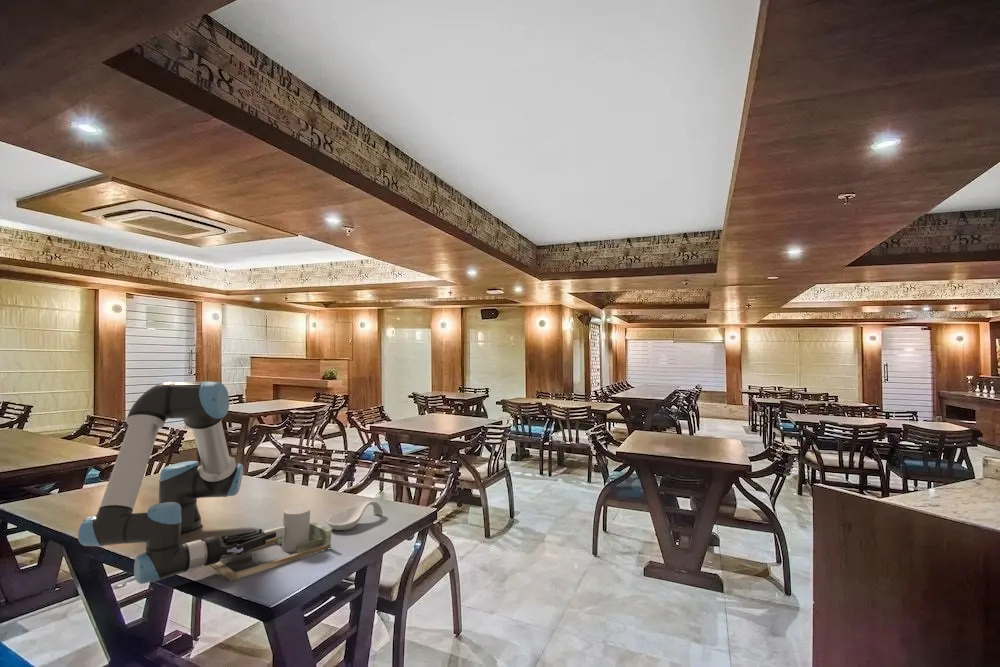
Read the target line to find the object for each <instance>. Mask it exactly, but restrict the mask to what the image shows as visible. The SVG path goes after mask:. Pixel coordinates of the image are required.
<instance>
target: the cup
mask: <svg viewBox="0 0 1000 667" xmlns="http://www.w3.org/2000/svg"><path fill="white" fill-rule="evenodd" d="M282 518H283V519H282V526H284V527H285V536H283V539H282V544H281V545H282V546H281V550H282V551H283V552H285V551H286V552H287V553H296V552H295V551H296V545H299V544H303V543H306V542H309V526H310V521H311V520H310V519H311V508H310V507H309V506H302V505H301V506H293V507H289V508H286V509H284V510H283V516H282Z"/></svg>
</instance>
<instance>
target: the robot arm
mask: <svg viewBox="0 0 1000 667" xmlns="http://www.w3.org/2000/svg"><path fill="white" fill-rule="evenodd" d="M229 398H230V396H229V392H228V389H227V387H226V386H225V385H224V383H222V382H219V381H210V380H206V381H165V382H161V383H158V384H156V385H154V386H152V387H151V388H149V389H148V390H146V391H145V392H144V393H143V394H142V395H140V397H139V398H137V400H136V401H135V402H134V404H132V407H131V408H130V409H129V412H128V414H127V417H126V420H125V423H126V424H127V425H128V426H127V429H126V432H125V435H124V437H123V441H122V443H121V445H120V448H119V450H118V455H117V457H116V459H115V462H114V466H113V468H112V471H111V474H110V477H109V480H108V482H107V485H106V488H105V491H104V494H103V496H102V499H101V502H100V504H99V507H98V511H97V512H96V514H93V515H90V516H87V517H85V518H84V519H83V520H82V521H83V522H81V523H80V526H79V528H78V534H77V539H78V542H79V544H80V545H81V546H82V547H83V546H84V547H103V546H111V545H112V546H113V545H123V544H125V545H126V544H138V543H139V544H141V543H145V552H143V553H140V554H138V555H137V556H136V557H135V559H134V564H133V574H134V579H135V581H136V582H137V583H138V584H140V585H143V584H147V583H152V582H157V581H160V580H163V579H166V578H169V577H173V576H175V575H179V574H180V575H181V574H182V573H187V572H189V573H191V572H192V571H194V570H196V569H200V568H203V567H204V566H205V567H207V566H211V564H215V563H218V562H219V561H220V558H221V557H222V555H230V554H233V553H234V552H236V555H241V554H242V553H243V554H244V553H246V551H247V552H250V551H252V550H251V549H254V548H257V547H259V546H262V545H265V544H266V541H267V540H271V539H275V538H278V537H282V536H285V527H284V526H283V525H282V526H278V527H275V528H270V529H267V530H263V529H262V528H259V529H258V530H251V531H246V532H241V533H234V534H229V535H228V534H227V535H221V537H219V536H217V535H212V536H208V537H205V538H202V539H196V540H191V541H189V542H184V543H181V534H183V533H182V532H185V533H187V532H186V531H188V532H191V531H190V530H192V531H194V530H195V528H196V529H198V528H199V526H200V527H201V526H202V516H201V513H200V511H199V508H198V504H197V499H204V498H206V499H207V498H227V497H233V496H236V495H237V494H238V493H239V491H240V489H241V485H242V480H243V474H244V464H242V463H239V462H238V463H236V460H235V458H234V457H232V456H230V453H229V449H228V445H227V440H226V435H225V431H224V428H223V426H224V425H223V423H222V420H223V419H224V417H225V416H227V414H228V412H229V407H230V401H229ZM168 419H169V420H170V419H173V420H174V419H183V423H184V424H185V426H186V427H188V428H189V429H191V430H192V434H193V437H194V440H195V441H194V442H195V443H196V444H195V445H196V448H197V451H198V454H199V458H200V461H201V464H200V463H199V461H198V460H188V461H182V462H181V461H180V462H178V463H177V462H176V463H174V464H170V465H167V466H165V467H163V468H162V469H161V470H160V473H159V474H160V475H159V480H158V483H159V485H158V503H156V504H153V505H151V506H150V507H149V508H148V509H147V512H136V513H133V511H134V507H135V504H136V502H137V498H138V494H139V491H140V488H141V485H142V482H143V479H144V476H145V473H146V471H147V467H148V464H149V462H150V458H151V455H152V452H153V449H154V445H155V442H156V439H157V437H158V436H157V435H158V433H159V430H160V429H162V428H163V427H164V426H165V424H166V421H167V420H168ZM197 527H198V528H197ZM193 529H194V530H193ZM257 549H258V548H257ZM249 550H250V551H249ZM254 550H255V549H254Z"/></svg>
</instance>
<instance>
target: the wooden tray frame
mask: <svg viewBox="0 0 1000 667" xmlns="http://www.w3.org/2000/svg"><path fill="white" fill-rule="evenodd" d="M282 539H283V536H282V537H278V538H275V539H271V540H267V541H266V544H265V545H262V546H259V547H257V548H254V549H251V550H249V551H246V552H250V551H254V550H257V549H260V548H265V547H268V546H271V545H274V543H275V544H276V545H277V546H280V544H281V545H282ZM331 539H332V529H329V528H327V527H326V526H324V525H321V524H319V523H316V522H314V521H311V520H310V526H309V542H306V543H303V544H299V545H296V552H295V553H292V554H289V555H287V556H284V557H280V558H277V559H274V560H270V561H268V562H265V563H261V564H260V563H258V562H256V560H254V559H253V558H254V557H253V555H245V554H244V553H242V554H241V555H236V552H234V553H233V554H230V555H222V557H221V558H220V561H219V562H218V563H215V564H211V565H210V566H211V567H212V568H213V569H214V570H216V571H217V572H219V573H220V575H222V576H224V577H225V578H227V579H228V581H230V582H233V581H236V580H239V579H242V578H245V577H249V576H251V575H255V574H257V573H261V572H264V571H266V570H269V569H273V568H276V567H279V566H282V565H285V564H288V563H291V562H294V561H297V560H300V559H303V558H302V557H304V558H306V557H305V556H307V557H308V555H310V554H313V555H315V554H314V553H316V552H319V551H322V550H325V549H328V548H330V549H331V546H332V545H331V543H332V542H331V541H332V540H331ZM267 545H268V546H267ZM328 550H329V549H328ZM325 551H326V550H325ZM246 552H245V553H246ZM322 552H323V551H322ZM319 553H320V552H319ZM316 554H317V553H316ZM310 556H311V555H310ZM299 558H300V559H299ZM296 559H297V560H296ZM293 560H294V561H293ZM290 561H291V562H290ZM287 562H288V563H287ZM281 564H282V565H281Z"/></svg>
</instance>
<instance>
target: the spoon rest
mask: <svg viewBox="0 0 1000 667" xmlns="http://www.w3.org/2000/svg"><path fill="white" fill-rule="evenodd" d="M369 505H372V506H373V514H374V513H375V514H378V515H382V514H383V512H384V511H383V509H382V506H381V504H380V503H378V502H377V501H372V500H369V499H367V500H362V501H361V502H359V503H357V504H355V505H353V506H350V507H349V508H346V509H344V510H341V511H340V512H337V513H335V514H333V515H331V516H329V517H328V518H327V520H326V523H327V524H328V526H329V527H330V528H331V529H332V530H335V531H339V530H344V531H348V530H347V529H349V530H351V529H350V528H352V527H353V528H354V527H355V526H357V524H358V523H359V521H360V520H361V518H362V516H363V514H364V512H365V510H366V508H367V507H368V506H369ZM378 515H377V516H378ZM382 516H383V515H382ZM353 528H352V529H353Z"/></svg>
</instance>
